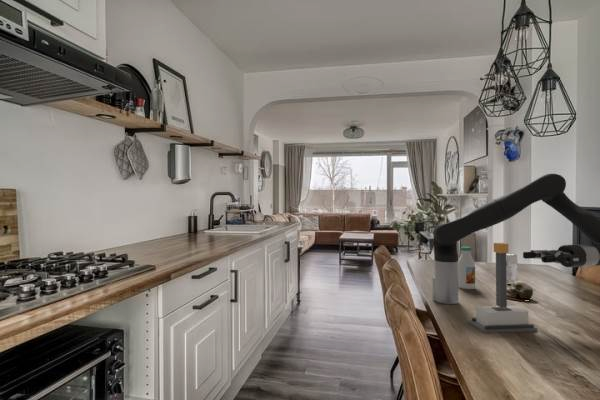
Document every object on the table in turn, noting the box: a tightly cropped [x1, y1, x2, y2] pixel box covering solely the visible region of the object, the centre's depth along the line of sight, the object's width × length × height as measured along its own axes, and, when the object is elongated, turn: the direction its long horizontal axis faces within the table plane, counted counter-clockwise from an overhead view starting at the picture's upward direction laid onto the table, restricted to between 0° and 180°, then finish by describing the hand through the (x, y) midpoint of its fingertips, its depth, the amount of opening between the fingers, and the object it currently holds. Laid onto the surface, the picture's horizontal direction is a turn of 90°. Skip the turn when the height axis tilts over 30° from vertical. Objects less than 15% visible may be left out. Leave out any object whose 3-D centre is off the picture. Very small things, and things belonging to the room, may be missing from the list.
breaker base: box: [468, 305, 538, 334], centre depth 115 cm, size 18×9×6 cm, turn 94°
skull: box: [507, 280, 534, 303], centre depth 150 cm, size 12×10×10 cm
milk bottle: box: [458, 246, 476, 290], centre depth 168 cm, size 8×8×20 cm
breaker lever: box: [493, 242, 509, 307], centre depth 115 cm, size 3×3×21 cm
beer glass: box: [506, 253, 518, 284], centre depth 176 cm, size 7×7×15 cm
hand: (532, 257), depth 116 cm, fingers open, 8 cm apart
